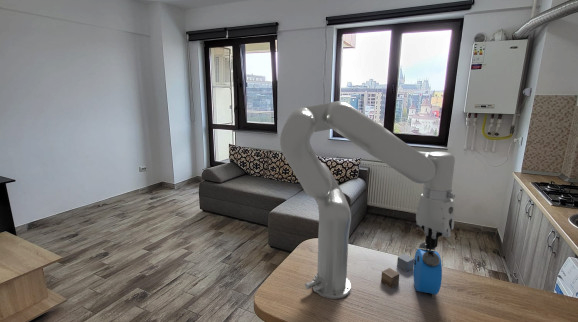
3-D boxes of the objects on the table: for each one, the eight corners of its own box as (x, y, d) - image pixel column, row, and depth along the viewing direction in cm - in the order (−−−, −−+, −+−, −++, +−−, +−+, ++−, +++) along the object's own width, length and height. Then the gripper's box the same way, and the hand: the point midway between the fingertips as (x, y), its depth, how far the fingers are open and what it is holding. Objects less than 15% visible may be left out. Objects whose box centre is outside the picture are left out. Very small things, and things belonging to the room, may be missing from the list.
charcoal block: (406, 271, 105) (407, 262, 104) (396, 266, 108) (397, 256, 107) (413, 268, 107) (414, 258, 106) (404, 263, 110) (404, 253, 109)
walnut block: (390, 288, 96) (391, 277, 95) (381, 281, 100) (381, 271, 99) (398, 284, 98) (399, 273, 97) (388, 277, 102) (389, 267, 101)
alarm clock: (438, 304, 89) (445, 260, 85) (416, 300, 90) (422, 257, 87) (430, 278, 101) (436, 239, 97) (411, 275, 103) (416, 236, 99)
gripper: (469, 197, 84) (461, 254, 88) (421, 184, 96) (417, 235, 100) (454, 203, 80) (447, 262, 84) (407, 188, 92) (403, 241, 96)
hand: (430, 247), depth 92 cm, fingers closed
